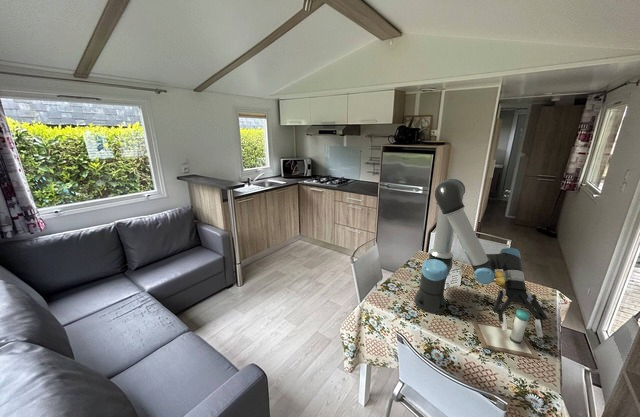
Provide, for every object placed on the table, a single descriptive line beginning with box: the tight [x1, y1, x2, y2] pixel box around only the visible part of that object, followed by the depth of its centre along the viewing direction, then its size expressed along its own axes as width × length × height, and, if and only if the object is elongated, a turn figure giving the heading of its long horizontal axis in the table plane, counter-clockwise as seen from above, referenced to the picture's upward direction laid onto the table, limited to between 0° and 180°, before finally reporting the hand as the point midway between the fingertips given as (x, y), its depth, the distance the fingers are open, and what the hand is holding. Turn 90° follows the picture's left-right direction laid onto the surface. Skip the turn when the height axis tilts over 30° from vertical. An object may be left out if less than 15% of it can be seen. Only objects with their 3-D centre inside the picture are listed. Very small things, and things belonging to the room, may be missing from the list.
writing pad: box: [472, 320, 541, 360], centre depth 111 cm, size 20×16×1 cm
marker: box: [510, 309, 531, 344], centre depth 108 cm, size 4×4×14 cm
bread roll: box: [495, 269, 505, 288], centre depth 150 cm, size 13×10×8 cm
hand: (522, 333), depth 106 cm, fingers open, 12 cm apart
